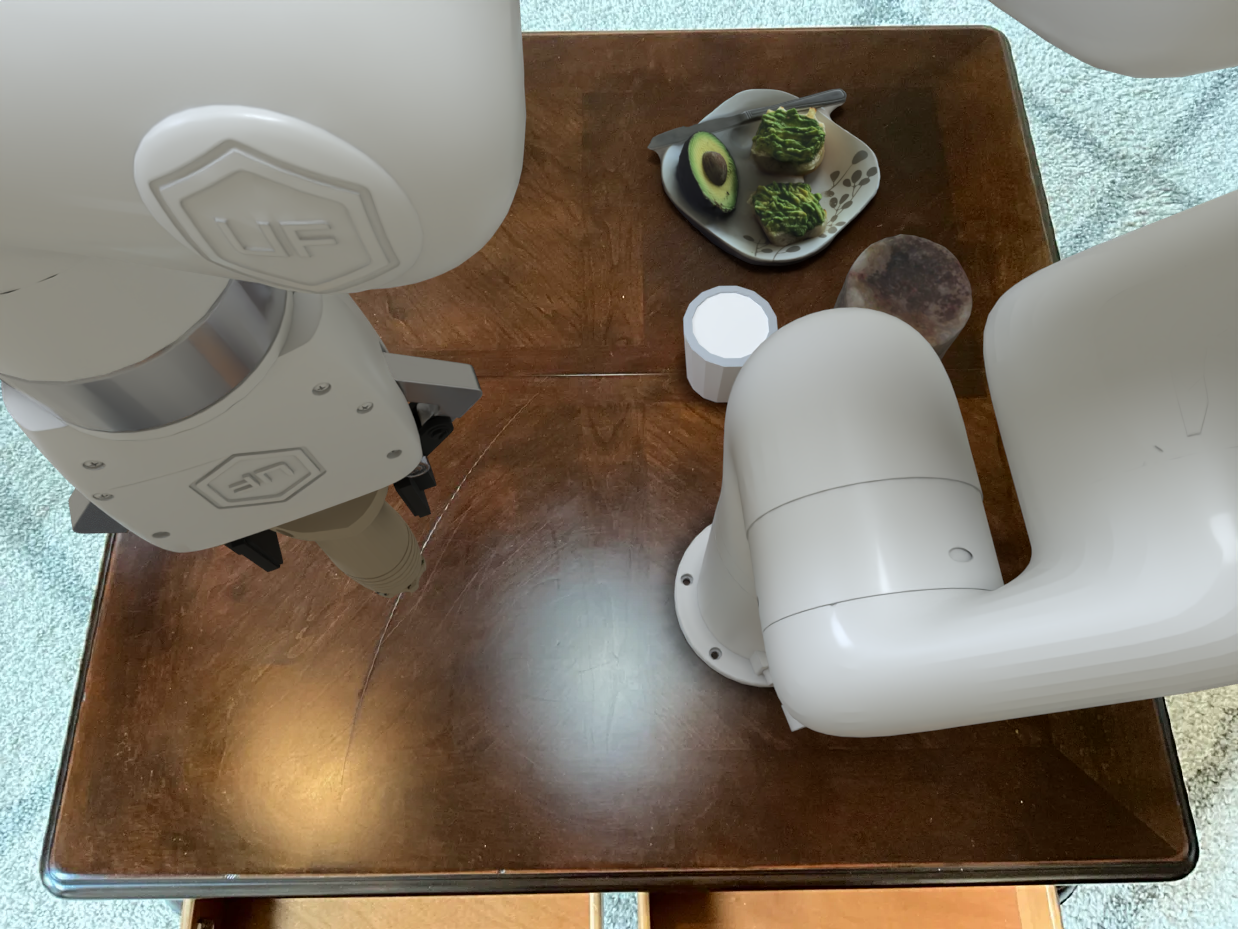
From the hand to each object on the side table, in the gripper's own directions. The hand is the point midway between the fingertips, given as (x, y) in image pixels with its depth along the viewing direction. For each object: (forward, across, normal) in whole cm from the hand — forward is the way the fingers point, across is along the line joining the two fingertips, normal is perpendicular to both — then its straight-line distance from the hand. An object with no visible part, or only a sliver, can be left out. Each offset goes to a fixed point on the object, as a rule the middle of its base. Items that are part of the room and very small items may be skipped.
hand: (342, 512), depth 40 cm
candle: (+25, +32, +4) cm, 40 cm away
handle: (+10, 0, 0) cm, 10 cm away
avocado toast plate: (+25, +36, +28) cm, 52 cm away
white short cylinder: (+25, +26, +12) cm, 38 cm away
